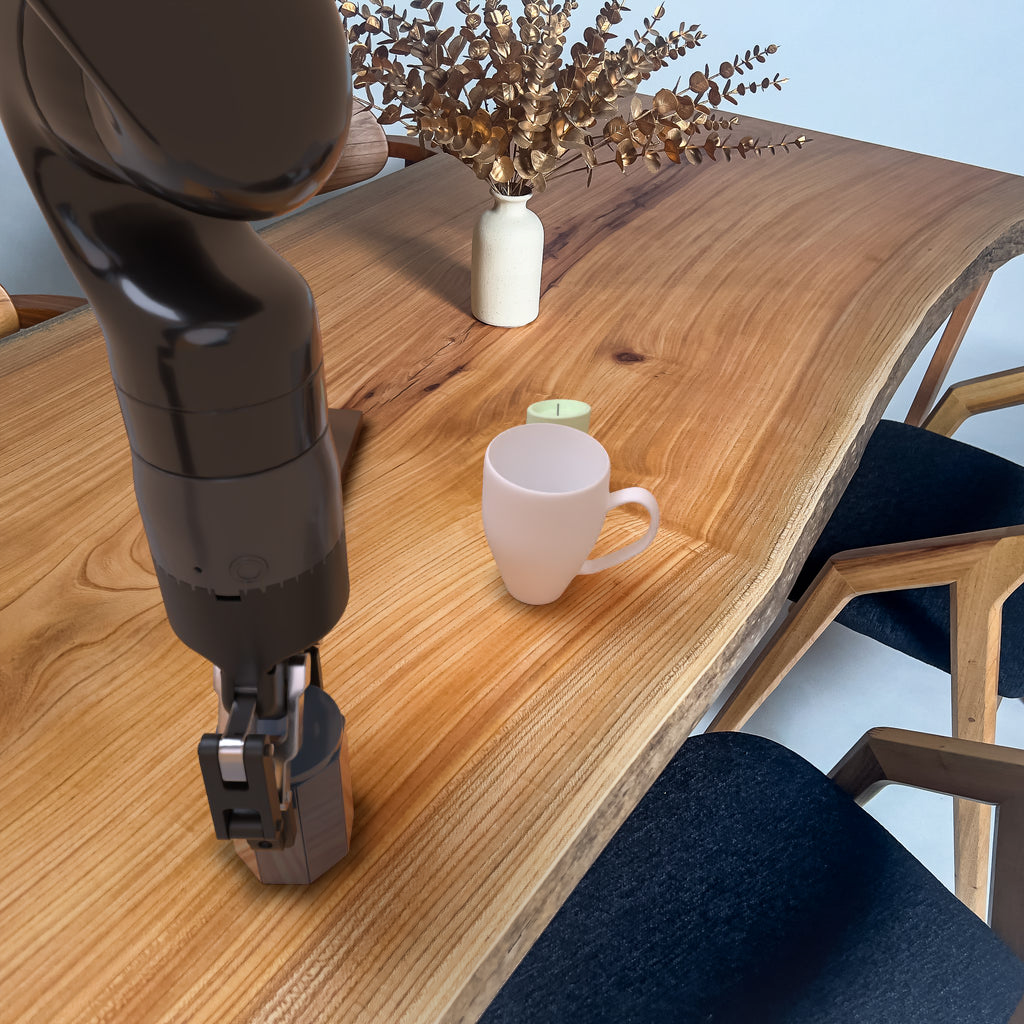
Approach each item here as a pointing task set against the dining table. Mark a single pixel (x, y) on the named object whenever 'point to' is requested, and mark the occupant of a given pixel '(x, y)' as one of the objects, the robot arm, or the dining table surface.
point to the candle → (561, 413)
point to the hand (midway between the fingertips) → (289, 764)
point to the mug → (551, 508)
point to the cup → (311, 797)
